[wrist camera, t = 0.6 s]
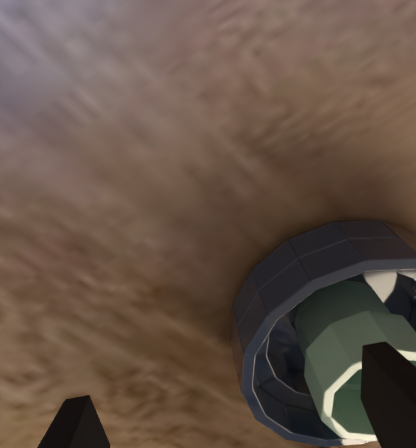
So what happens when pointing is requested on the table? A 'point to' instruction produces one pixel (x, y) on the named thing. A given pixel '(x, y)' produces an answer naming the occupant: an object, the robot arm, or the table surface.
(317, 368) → the small cup
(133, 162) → the table surface
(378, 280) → the dark blue round dish
